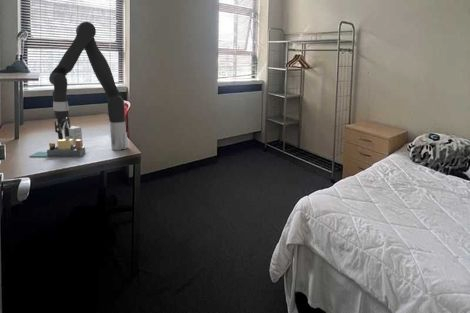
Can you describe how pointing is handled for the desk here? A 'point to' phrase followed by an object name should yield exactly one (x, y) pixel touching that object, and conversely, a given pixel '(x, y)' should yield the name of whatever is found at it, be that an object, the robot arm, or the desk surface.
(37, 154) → the mat
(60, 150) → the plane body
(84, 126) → the desk surface
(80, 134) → the supplement box
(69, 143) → the tan rectangular block
